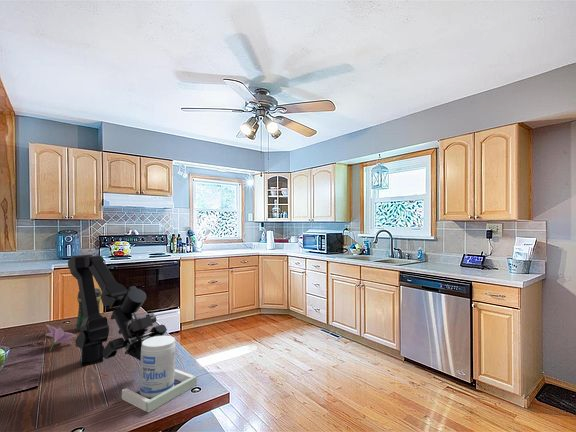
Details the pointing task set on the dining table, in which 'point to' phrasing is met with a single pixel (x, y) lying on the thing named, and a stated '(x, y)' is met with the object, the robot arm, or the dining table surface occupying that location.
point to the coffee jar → (80, 312)
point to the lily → (59, 335)
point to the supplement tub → (157, 365)
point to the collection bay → (151, 404)
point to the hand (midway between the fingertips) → (148, 363)
